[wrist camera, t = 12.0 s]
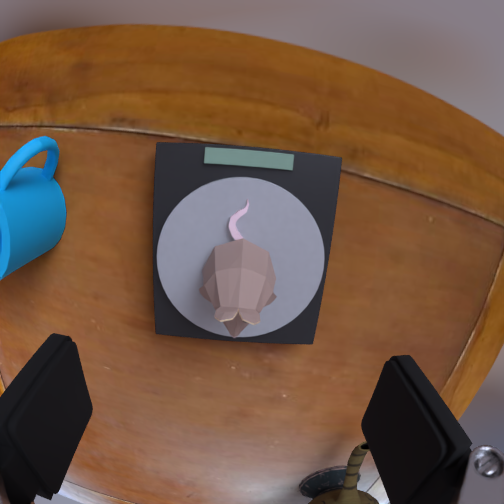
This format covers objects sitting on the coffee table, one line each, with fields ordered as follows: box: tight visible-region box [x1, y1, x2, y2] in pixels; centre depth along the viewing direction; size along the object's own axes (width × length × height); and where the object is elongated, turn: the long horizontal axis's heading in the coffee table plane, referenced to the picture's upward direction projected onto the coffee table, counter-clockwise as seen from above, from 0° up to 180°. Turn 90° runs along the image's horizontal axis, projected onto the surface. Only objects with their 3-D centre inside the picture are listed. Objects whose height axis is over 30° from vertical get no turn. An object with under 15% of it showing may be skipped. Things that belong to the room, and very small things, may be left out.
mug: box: [0, 136, 66, 280], centre depth 20 cm, size 12×8×8 cm
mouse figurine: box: [199, 199, 277, 338], centre depth 19 cm, size 5×8×7 cm, turn 173°
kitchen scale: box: [153, 142, 342, 344], centre depth 24 cm, size 15×13×3 cm
